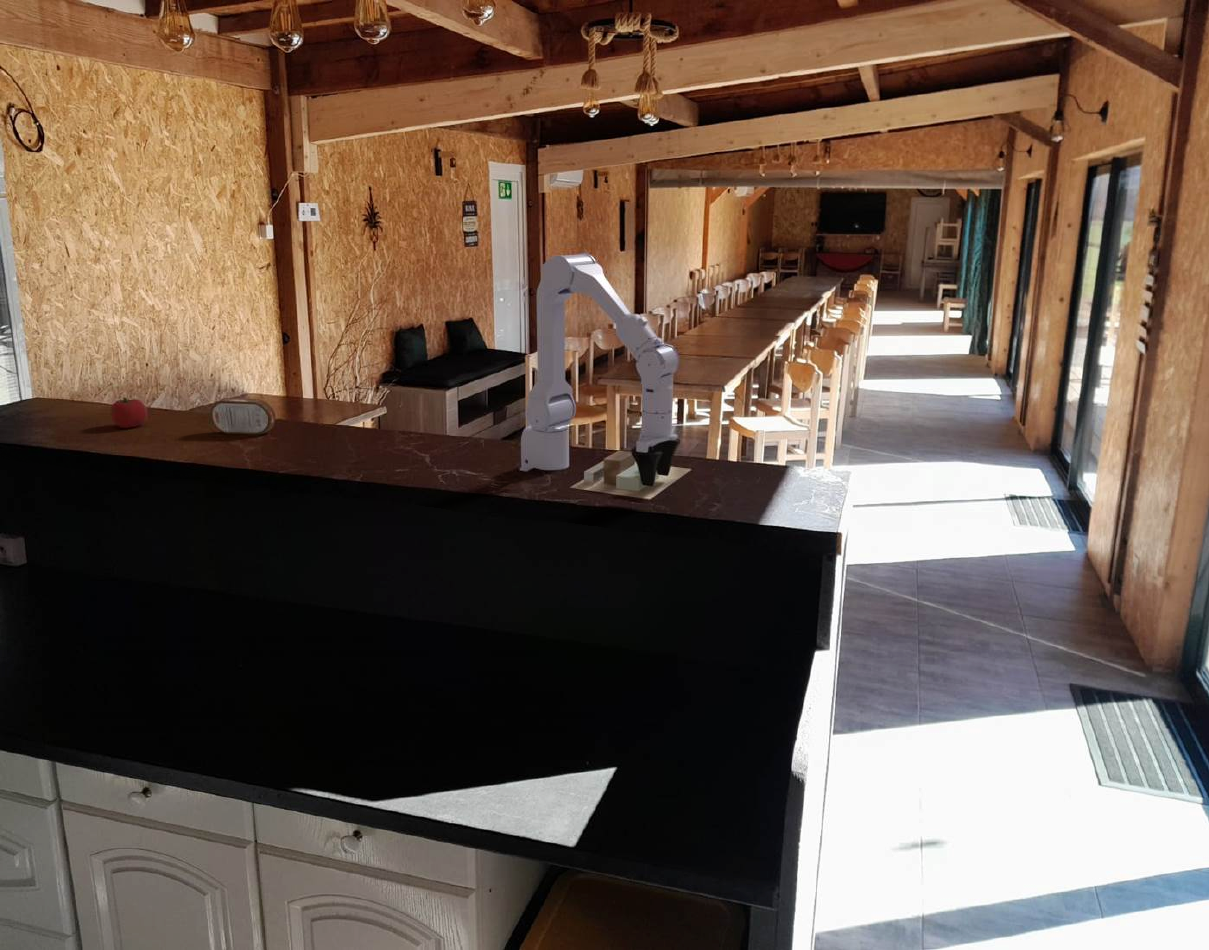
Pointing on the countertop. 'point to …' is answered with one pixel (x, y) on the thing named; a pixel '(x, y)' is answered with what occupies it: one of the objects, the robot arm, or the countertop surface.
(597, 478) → the block
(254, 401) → the tin
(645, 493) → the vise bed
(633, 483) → the block
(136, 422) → the tomato
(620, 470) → the block
